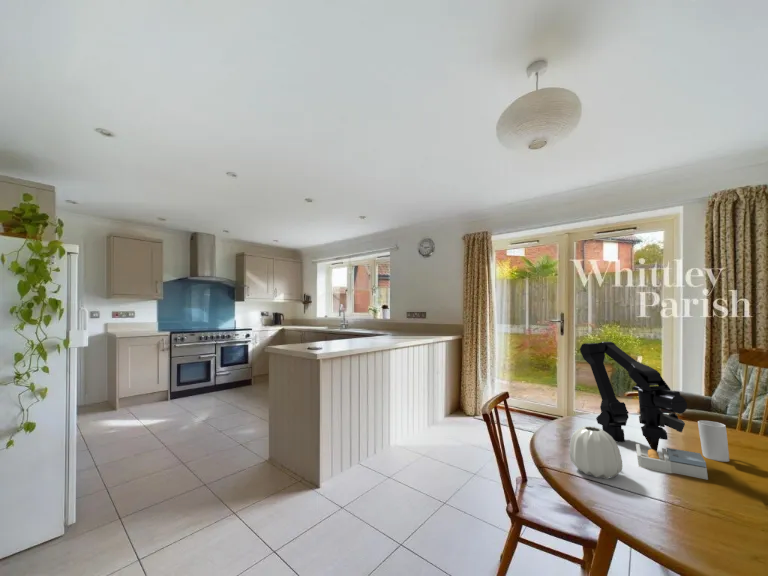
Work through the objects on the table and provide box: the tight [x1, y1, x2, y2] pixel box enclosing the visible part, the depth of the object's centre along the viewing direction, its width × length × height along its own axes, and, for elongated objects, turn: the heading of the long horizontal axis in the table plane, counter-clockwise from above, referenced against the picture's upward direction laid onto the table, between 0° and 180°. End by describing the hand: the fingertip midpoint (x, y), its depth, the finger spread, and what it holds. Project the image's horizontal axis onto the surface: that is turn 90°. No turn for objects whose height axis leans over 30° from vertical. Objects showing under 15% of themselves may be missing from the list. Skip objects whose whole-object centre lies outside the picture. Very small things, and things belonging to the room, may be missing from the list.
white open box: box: [635, 443, 709, 480], centre depth 103 cm, size 16×18×4 cm
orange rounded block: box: [648, 448, 659, 459], centre depth 104 cm, size 3×8×3 cm, turn 143°
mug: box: [697, 420, 730, 463], centre depth 108 cm, size 10×7×12 cm, turn 127°
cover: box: [666, 447, 707, 468], centre depth 98 cm, size 8×8×2 cm
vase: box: [569, 425, 623, 479], centre depth 100 cm, size 14×14×13 cm
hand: (654, 451), depth 108 cm, fingers closed
